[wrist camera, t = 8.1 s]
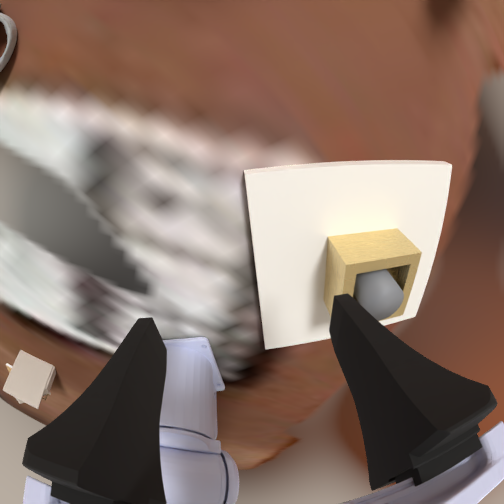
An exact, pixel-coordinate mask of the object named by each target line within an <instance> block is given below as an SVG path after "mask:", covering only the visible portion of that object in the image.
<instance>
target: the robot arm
mask: <svg viewBox="0 0 504 504" xmlns="http://www.w3.org/2000/svg"><path fill="white" fill-rule="evenodd" d="M329 333H330V336H331V340H332V344H333V347H334V351H335V354H336V356H337V359H338V361H339V363H340V366H341V368H342V371H343V373H344V376H345V378H346V381H347V383H348V386H349V388H350V391H351V393H352V395H353V398H354V401H355V405H356V409H357V412H358V417H359V420H360V425H361V429H362V434H363V439H364V444H365V450H366V456H367V463H368V471H369V482H370V486H371V489H372V490H375V489H378V488H381V487H383V486H386V485H389V484H391V483H394V482H396V484H395V485H393V486H391V487H388V488H385V489H383V490H380V491H378V492H375V493H372V494H369V495H366V496H363V497H360V498H357V499H354V500H350V501H348V502H344V503H340V504H477V503H478V502H479V501H481V500H482V499H483V498H484V497H485V496H486V495H487V494H488V493H489V492H490V491H491V490H492V489H493V488H495V486H497V485H498V484H499V483H500V482H501V481H502V480H503V479H504V424H503V422H502V421H501V422H499V423H498V424H497V425H495V426H494V427H493V428H491V429H490V430H489V431H487V432H486V433H485V434H483V435H482V436H481V437H478V435H477V433H478V432H479V431H480V428H479V426H478V423H479V422H480V421H482V420H483V419H484V418H485V417H486V416H487V415H488V414H489V413H490V412H492V410H494V408H495V407H496V406H497V401H496V399H495V397H494V395H493V394H492V392H491V390H490V388H489V387H488V386H487V385H484V384H481V383H478V382H475V381H472V380H470V379H467V378H465V377H462V376H460V375H458V374H455V373H453V372H451V371H449V370H447V369H445V368H443V367H441V366H440V365H438V364H436V363H434V362H432V361H431V360H429V359H427V358H426V357H424V356H423V355H421V354H420V353H418V352H417V351H415V350H414V349H412V348H411V347H409V346H408V345H407V344H405V343H404V342H403V341H401V340H400V339H399V338H398V337H396V336H395V335H394V334H393V333H391V332H390V331H389V330H388V329H387V328H386V327H384V326H383V325H382V324H381V323H380V322H379V321H378V320H376V319H375V318H374V317H373V316H372V315H371V314H370V313H369V312H368V311H367V310H366V309H365V308H363V307H362V306H361V305H360V304H359V303H358V302H357V301H356V300H355V299H354V298H353V297H352V296H351V295H349V294H348V293H347V294H341V295H335V296H334V299H333V306H332V313H331V320H330V327H329ZM224 389H225V385H224V383H223V380H222V377H221V374H220V372H219V369H218V366H217V363H216V360H215V358H214V355H213V352H212V349H211V346H210V343H209V340H208V339H207V338H206V337H195V338H184V339H171V340H162V338H161V336H160V334H159V332H158V329H157V327H156V325H155V323H154V320H153V318H139V319H138V320H137V321H136V323H135V324H134V326H133V327H132V328H131V330H130V331H129V333H128V334H127V336H126V337H125V339H124V340H123V342H122V343H121V345H120V346H119V347H118V349H117V350H116V352H115V353H114V355H113V356H112V357H111V359H110V360H109V362H108V363H107V364H106V366H105V367H104V368H103V370H102V371H101V372H100V374H99V375H98V376H97V377H96V379H95V380H94V381H93V382H92V384H91V385H90V386H89V387H88V388H87V389H86V390H85V391H84V393H83V394H82V395H81V396H80V397H79V398H78V399H77V400H76V401H75V402H74V403H73V404H72V405H71V406H70V407H69V408H67V409H66V410H65V411H64V412H63V413H62V414H61V415H60V416H58V417H57V418H56V419H55V420H54V421H52V422H51V423H50V424H48V425H47V426H46V427H44V428H43V429H41V430H40V431H38V432H37V433H35V434H34V435H32V436H31V437H29V438H28V441H27V445H26V449H25V453H24V457H23V463H22V464H23V466H25V467H26V468H28V469H29V470H31V471H33V472H35V473H37V474H39V475H41V476H42V477H44V478H46V479H48V480H51V481H52V486H50V485H48V484H45V483H43V482H41V481H39V480H37V479H34V478H32V477H30V476H27V478H26V484H25V491H24V499H23V504H235V503H236V500H237V497H238V492H239V474H238V469H237V466H236V463H235V461H234V460H233V459H232V457H231V456H230V455H229V453H228V452H226V451H224V450H221V442H220V441H218V440H216V438H217V397H216V391H223V390H224Z"/></svg>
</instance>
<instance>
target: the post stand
mask: <svg viewBox="0 0 504 504" xmlns="http://www.w3.org/2000/svg"><path fill="white" fill-rule="evenodd" d="M451 170H452V165H451V164H449V163H447V162H445V161H422V160H372V161H343V162H325V163H311V164H298V165H287V166H277V167H267V168H258V169H250V170H244V176H245V184H246V193H247V201H248V209H249V218H250V226H251V235H252V243H253V251H254V260H255V268H256V277H257V285H258V294H259V302H260V311H261V319H262V328H263V336H264V344H265V350H266V349H273V348H279V347H285V346H291V345H297V344H303V343H308V342H313V341H319V340H324V339H329V338H331V336H330V333H329V327H330V320H331V317H330V314H329V312H328V310H327V307H326V305H325V303H324V300H323V296H324V284H325V272H326V257H327V240H328V236H336V235H344V234H353V233H361V232H370V231H378V230H386V229H395V228H398V229H399V230H400V231H401V232H402V233H403V234H404V235H405V236H406V237H407V238H408V239H409V240H410V241H411V242H412V243H413V244H414V245H415V246H416V247H417V248H418V249H419V250H420V251H421V252H422V254H421V258H420V262H419V266H418V270H417V273H416V277H415V280H414V283H413V287H412V290H411V293H410V296H409V299H408V302H407V305H406V308H405V311H404V314H403V315H401V316H398V317H394V318H390V319H386V318H388V317H389V316H391V315H392V314H393V313H395V312H396V311H397V310H398V308H399V307H400V306H401V304H402V302H403V299H404V293H403V291H402V289H401V288H400V287H399V285H398V284H397V283H396V281H395V280H394V279H393V277H392V276H391V275H390V273H389V272H388V271H387V269H382V270H376V271H370V272H365V273H359V274H356V280H355V286H354V292H353V294H354V295H355V297H356V299H357V301H358V303H359V304H360V305H361V306H362V307H363V308H365V309H366V310H367V311H368V312H369V313H370V314H371V315H372V316H373V317H374V318H375V319H376V320H378V321H379V320H382V321H379V322H380V323H381V324H382V325H383V326H384V325H388V324H391V323H395V322H398V321H402V320H405V319H409V318H412V317H415V316H416V313H417V310H418V308H419V305H420V302H421V299H422V296H423V293H424V290H425V287H426V284H427V281H428V278H429V275H430V271H431V268H432V264H433V261H434V257H435V254H436V250H437V246H438V242H439V238H440V233H441V229H442V224H443V220H444V215H445V209H446V204H447V198H448V192H449V185H450V178H451ZM383 319H386V320H383Z"/></svg>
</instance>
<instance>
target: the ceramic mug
mask: <svg viewBox="0 0 504 504" xmlns="http://www.w3.org/2000/svg"><path fill="white" fill-rule="evenodd" d="M0 8H1V4H0ZM0 21H1V22H2V23H3V24H4V27H5V29H6V34H7V46H6V49H5V52H4V53H3V55H2V57H1V58H0V72H1V71H2V69H3V68H4V67H5V66H6V64H7V63H8V61H9V59H10V57H11V55H12V53H13V50H14V47H15V45H16V41H17V29H16V25H15V23H14V21H13V20H12V19H11V18H10V17H8V16H7V15H5V14H2V13H0Z"/></svg>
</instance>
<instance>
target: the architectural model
mask: <svg viewBox="0 0 504 504" xmlns="http://www.w3.org/2000/svg"><path fill="white" fill-rule="evenodd" d="M6 367H7V369H8V371H9V373H10V374H9V376H8V378H7V381H6V383H5V385H4V388H3V391H5V392H7V393H8V394H10V395H12V396H14V397H15V398H16V399H17V401H18V402H19V403H20V404H21V403H24V402H25V403H27V404H29V405H31V406H33V407H35V408H37V409H38V408H39V405H40V402H41V399H42V396H44V395H46V397H45V400H46V398H47V395H49V396H50V389H51V386H52V383H53V380H54V377H55V375H56V370H55V367H54V366H53V365H51V364H49V363H46V362H44V361H42V360H40V359H38V358H36V357H34V356H32V355H30V354H28V353H26V352H24V351H22V350H20V352H19V354H18V356H17V358H16V360H15V363H14V365H13V366H11V365H9V364H8V363H7V364H6ZM43 399H44V398H43Z"/></svg>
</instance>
